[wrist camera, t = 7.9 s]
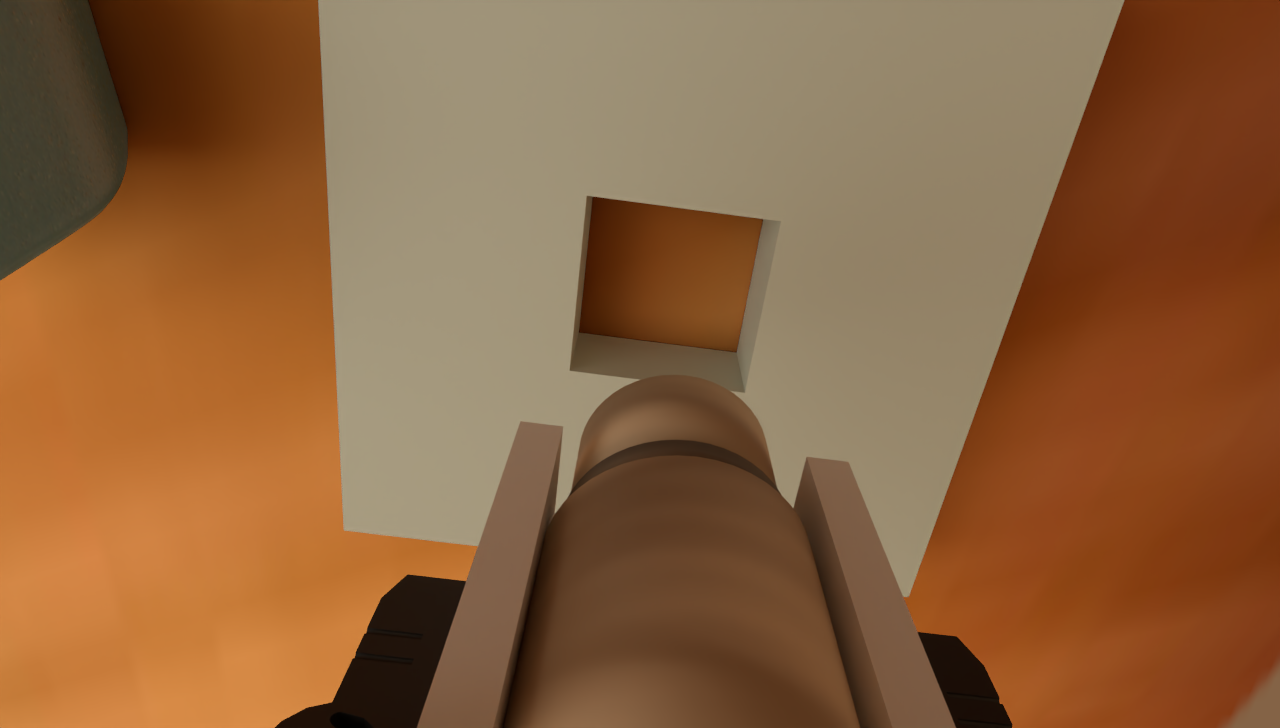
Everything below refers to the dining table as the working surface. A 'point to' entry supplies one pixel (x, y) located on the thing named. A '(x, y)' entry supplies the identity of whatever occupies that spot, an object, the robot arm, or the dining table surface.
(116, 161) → the flower pot
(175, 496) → the dining table surface
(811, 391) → the board
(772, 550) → the peg
